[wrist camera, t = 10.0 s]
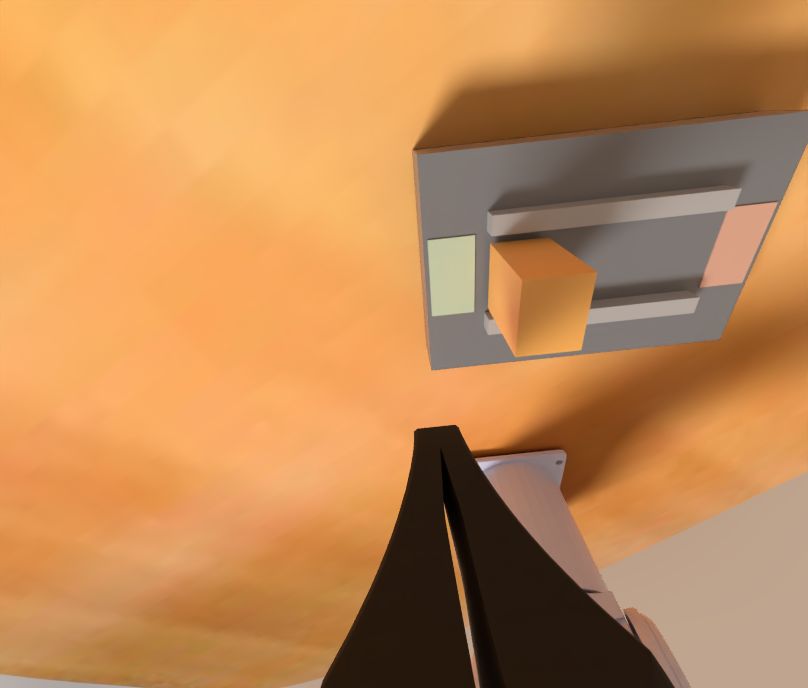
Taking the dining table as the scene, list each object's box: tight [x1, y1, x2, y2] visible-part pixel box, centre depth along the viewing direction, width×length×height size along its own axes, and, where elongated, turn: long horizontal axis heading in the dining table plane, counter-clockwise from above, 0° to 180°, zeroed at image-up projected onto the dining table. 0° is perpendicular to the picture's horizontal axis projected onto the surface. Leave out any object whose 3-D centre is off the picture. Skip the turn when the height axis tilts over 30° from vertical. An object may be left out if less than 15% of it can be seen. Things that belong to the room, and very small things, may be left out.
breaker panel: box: [412, 110, 808, 370], centre depth 17 cm, size 10×15×3 cm, turn 96°
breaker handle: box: [488, 237, 597, 357], centre depth 14 cm, size 3×2×4 cm
